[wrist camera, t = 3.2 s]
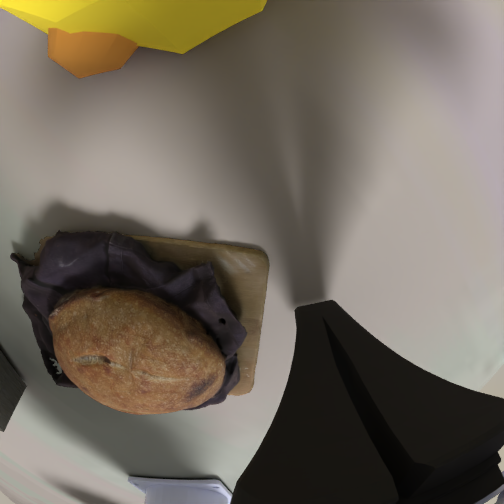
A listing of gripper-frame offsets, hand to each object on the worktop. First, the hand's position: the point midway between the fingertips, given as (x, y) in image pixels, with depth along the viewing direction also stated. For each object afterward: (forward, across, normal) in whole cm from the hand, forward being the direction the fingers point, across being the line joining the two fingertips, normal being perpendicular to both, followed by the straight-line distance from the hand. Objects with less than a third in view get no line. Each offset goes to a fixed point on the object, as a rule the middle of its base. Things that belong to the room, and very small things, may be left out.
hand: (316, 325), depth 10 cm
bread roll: (+2, +7, 0) cm, 7 cm away
